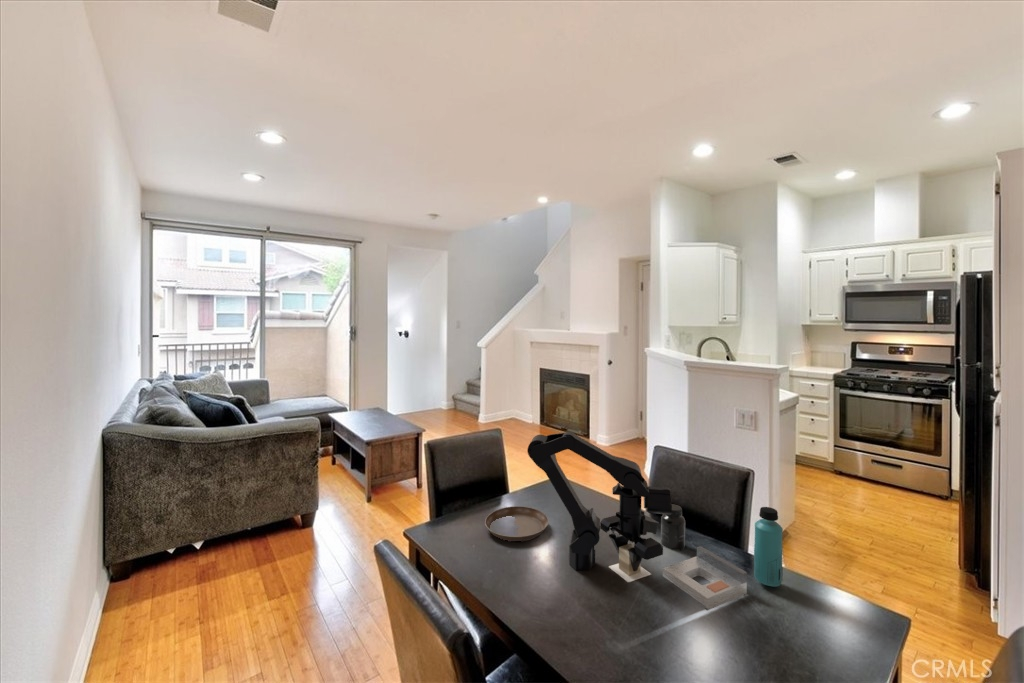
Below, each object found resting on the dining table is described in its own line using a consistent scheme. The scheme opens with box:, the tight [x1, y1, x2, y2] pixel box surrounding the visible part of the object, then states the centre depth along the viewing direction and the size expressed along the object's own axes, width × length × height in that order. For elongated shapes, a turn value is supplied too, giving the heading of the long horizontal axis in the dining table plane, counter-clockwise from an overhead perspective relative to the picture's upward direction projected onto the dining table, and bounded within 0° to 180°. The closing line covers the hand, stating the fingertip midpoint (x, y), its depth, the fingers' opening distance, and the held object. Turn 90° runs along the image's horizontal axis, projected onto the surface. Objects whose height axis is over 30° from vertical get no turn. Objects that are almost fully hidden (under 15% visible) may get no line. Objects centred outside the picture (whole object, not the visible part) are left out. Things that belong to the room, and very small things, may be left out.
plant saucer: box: [484, 505, 549, 542], centre depth 144 cm, size 21×21×3 cm
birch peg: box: [618, 543, 642, 576], centre depth 119 cm, size 4×4×6 cm
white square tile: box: [608, 562, 652, 583], centre depth 119 cm, size 8×8×1 cm
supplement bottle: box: [660, 503, 686, 551], centre depth 133 cm, size 7×7×12 cm
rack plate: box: [662, 545, 748, 611], centre depth 113 cm, size 14×14×6 cm
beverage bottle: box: [752, 506, 784, 587], centre depth 113 cm, size 6×7×20 cm
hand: (629, 566), depth 119 cm, fingers closed on birch peg, 4 cm apart
